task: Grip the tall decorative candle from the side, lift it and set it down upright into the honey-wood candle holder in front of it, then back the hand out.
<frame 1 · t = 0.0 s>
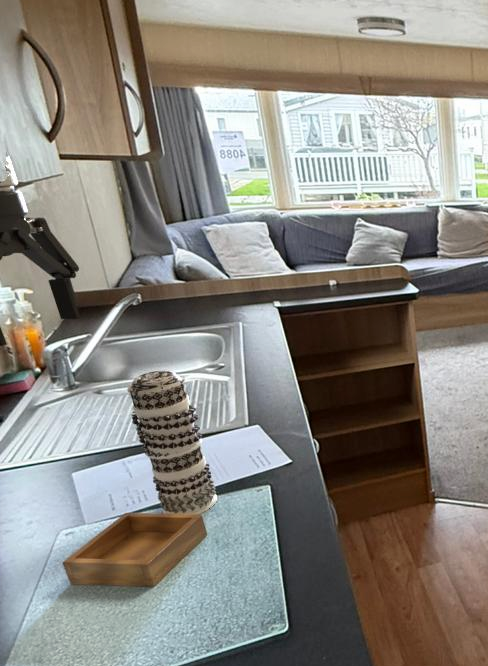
hand: (35, 331, 101), 34 cm above the counter, tool pointing down, fingers open, 13 cm apart
holder: (142, 558, 102), on the counter
decorative candle: (190, 506, 116), on the counter
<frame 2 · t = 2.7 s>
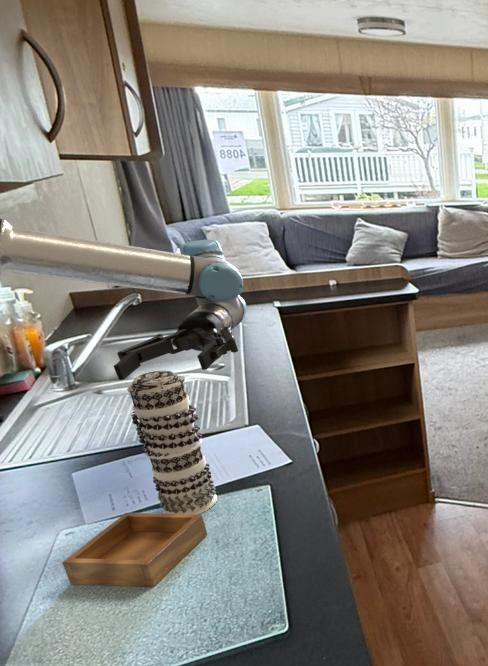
hand: (160, 367, 113), 24 cm above the counter, tool horizontal, fingers open, 13 cm apart
nothing on the counter moved.
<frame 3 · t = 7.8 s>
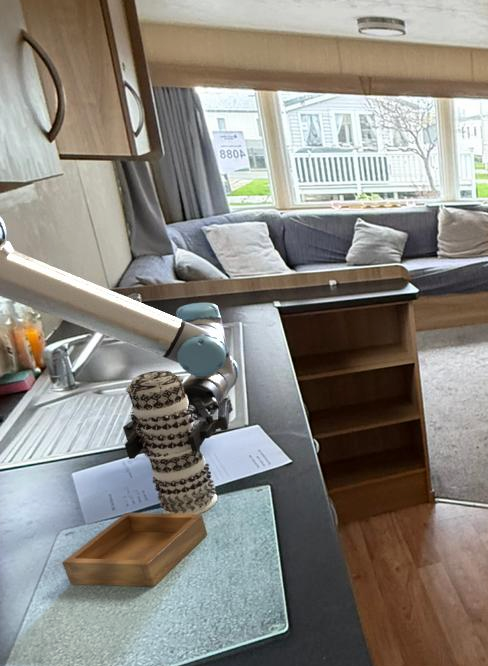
hand: (161, 447, 107), 14 cm above the counter, tool horizontal, fingers closed on decorative candle, 8 cm apart
decorative candle: (190, 506, 116), on the counter, touching gripper
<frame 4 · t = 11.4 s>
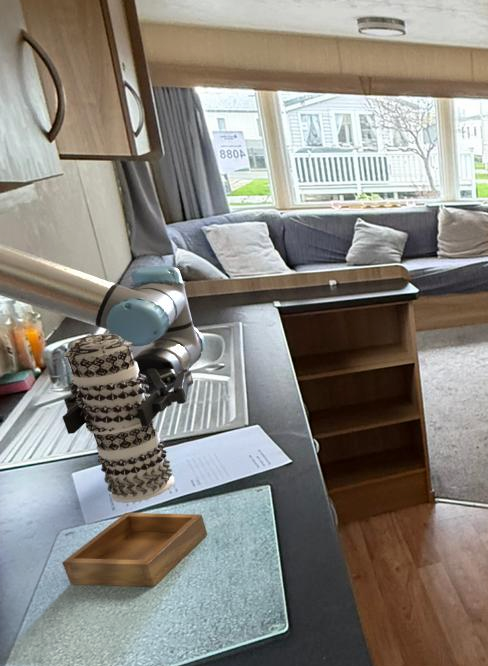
hand: (105, 421, 94), 24 cm above the counter, tool horizontal, fingers closed on decorative candle, 8 cm apart
decorative candle: (143, 489, 103), point 10 cm above the counter, touching gripper
when the fingers open (15 cm above the counter, at t = 15.0 s): decorative candle stays where it is, resting on holder.
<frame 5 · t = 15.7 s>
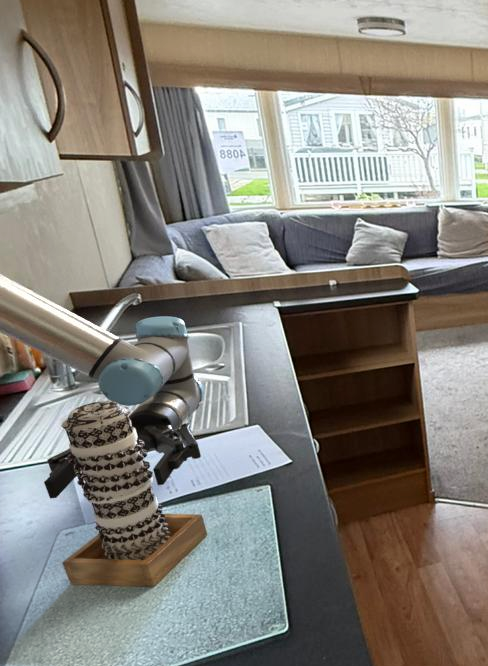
hand: (105, 483, 94), 16 cm above the counter, tool horizontal, fingers open, 13 cm apart
decorative candle: (141, 553, 102), point 1 cm above the counter, touching holder
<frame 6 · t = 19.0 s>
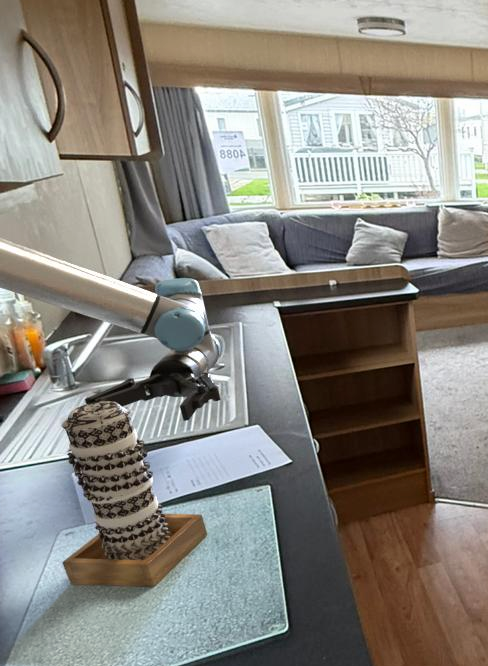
hand: (137, 417, 105), 19 cm above the counter, tool horizontal, fingers open, 13 cm apart
nothing on the counter moved.
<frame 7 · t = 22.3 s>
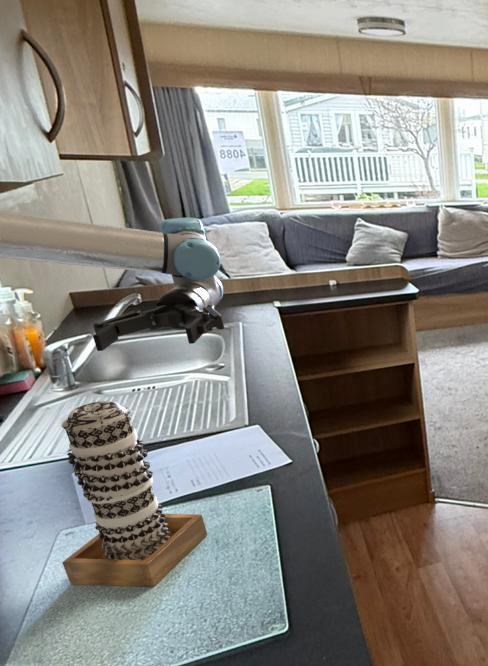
hand: (144, 339, 109), 30 cm above the counter, tool horizontal, fingers open, 13 cm apart
nothing on the counter moved.
at the end: decorative candle 0.0 cm off-centre in the holder, point 0.8 cm above the holder's base; decorative candle tilted 0°; the gripper is holding nothing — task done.
